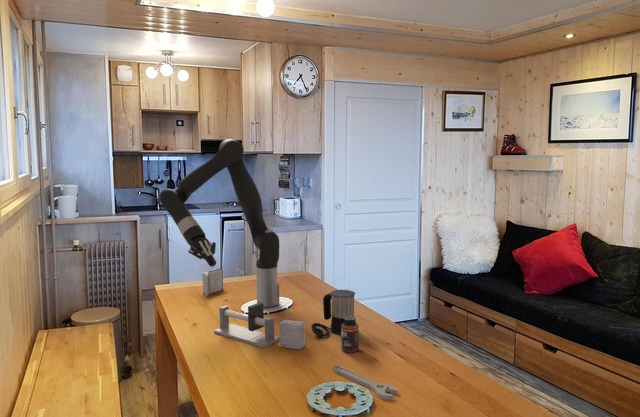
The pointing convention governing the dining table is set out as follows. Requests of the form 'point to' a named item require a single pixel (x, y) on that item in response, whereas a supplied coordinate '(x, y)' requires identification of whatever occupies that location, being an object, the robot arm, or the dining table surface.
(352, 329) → the supplement bottle
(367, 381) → the adjustable wrench
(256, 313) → the collar
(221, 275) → the grey rectangular block
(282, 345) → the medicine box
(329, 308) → the milk frother
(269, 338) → the pipe stand
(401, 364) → the dining table surface
